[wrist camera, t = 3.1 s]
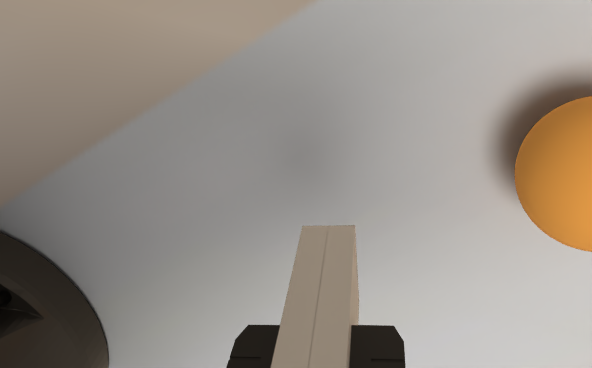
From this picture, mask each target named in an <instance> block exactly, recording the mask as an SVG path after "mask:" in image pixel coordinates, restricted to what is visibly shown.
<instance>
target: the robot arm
mask: <svg viewBox="0 0 592 368" xmlns="http://www.w3.org/2000/svg"><path fill="white" fill-rule="evenodd" d="M358 315H359V292H358V273H357V254H356V234H355V225H348V226H302V231H301V235H300V240H299V244H298V248H297V253H296V257H295V262H294V266H293V271H292V275H291V280H290V284H289V288H288V293H287V297H286V302H285V306H284V311H283V315H282V319H281V324H280V325H248V326H247V327H246V328H245V329H244V330H243V332H242V333H241V334H240V335H239V336H238V337H237V338H236V340H235V343H234V346H233V349H232V352H231V355H230V360H229V361H228V364H227V368H405V354H404V341H403V340H402V338H401V336H400V335H399V333H398V332H397V330H396V329H395V327H394V326H377V325H358ZM0 368H108V351H107V345H106V341H105V337H104V334H103V331H102V329H101V326H100V324H99V322H98V320H97V318H96V316H95V314H94V312H93V310H92V309H91V307H90V306H89V304H88V303H87V301H86V300H85V298H84V297H83V296H82V294H81V293H80V292H79V291H78V290H77V288H76V287H75V286H74V285H73V284H72V283H71V282H70V281H69V280H68V279H67V277H65V276H64V275H63V274H62V273H61V272H60V271H59V270H58V269H57V268H56V267H54V266H53V265H52V264H51V263H50V262H48V261H47V260H46V259H44V258H43V257H42V256H40V255H39V254H37V253H36V252H34V251H33V250H31V249H30V248H28V247H26V246H25V245H23V244H21V243H20V242H18V241H16V240H14V239H12V238H10V237H8V236H6V235H4V234H2V233H0Z"/></svg>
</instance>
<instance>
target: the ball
mask: <svg viewBox="0 0 592 368" xmlns="http://www.w3.org/2000/svg"><path fill="white" fill-rule="evenodd" d="M515 185H516V191H517V194H518V197H519V200H520V202H521V204H522V206H523V209H524V210H525V212H526V213H527V215H528V216H529V217H530V219H531V220H532V221H533V222H534V224H535V225H536V226H537V227H538V228H540V229H541V230H542V231H543V232H544V233H546V234H547V235H548V236H550V237H551V238H553V239H555V240H557V241H559V242H560V243H562V244H565V245H567V246H570V247H573V248H576V249H580V250H584V251H590V252H592V96H589V97H584V98H580V99H576V100H573V101H570V102H568V103H565V104H563V105H561V106H559V107H557V108H556V109H554V110H552V111H551V112H549V113H548V114H547V115H545V116H544V117H543V118H541V119H540V120H539V121H538V122H537V123H536V124H535V125H534V126H533V128H532V129H531V130H530V131H529V132H528V134H527V135H526V137H525V139H524V140H523V142H522V144H521V147H520V149H519V152H518V155H517V159H516V164H515Z"/></svg>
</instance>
